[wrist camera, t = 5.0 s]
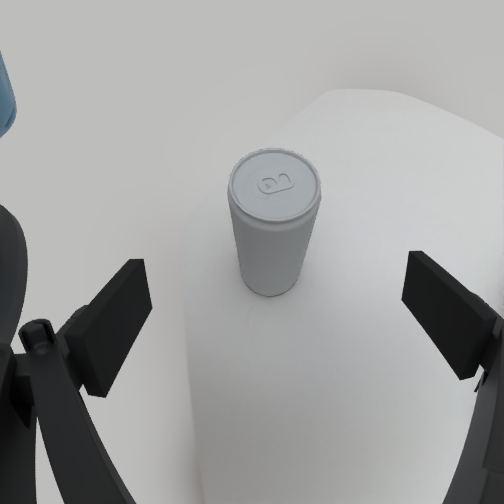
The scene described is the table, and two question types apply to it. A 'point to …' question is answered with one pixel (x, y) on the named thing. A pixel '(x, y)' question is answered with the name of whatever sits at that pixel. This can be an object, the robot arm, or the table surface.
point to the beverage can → (273, 216)
